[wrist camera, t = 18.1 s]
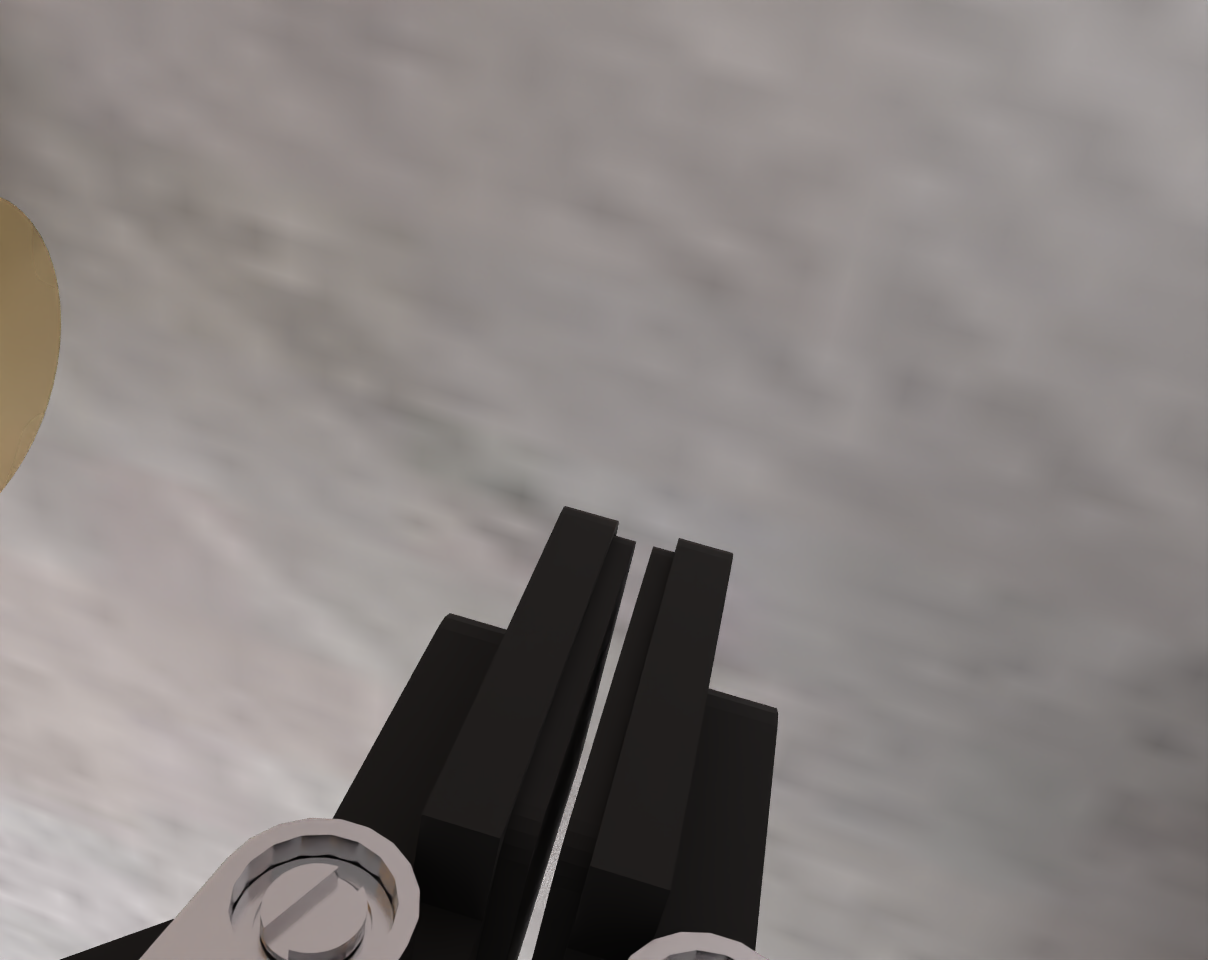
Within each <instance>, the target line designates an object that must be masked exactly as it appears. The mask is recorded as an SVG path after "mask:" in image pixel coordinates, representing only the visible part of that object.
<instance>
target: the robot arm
mask: <svg viewBox="0 0 1208 960" xmlns="http://www.w3.org/2000/svg"><path fill="white" fill-rule="evenodd" d="M618 524H619V521H616V520H613V519H609V518H606V517H602V516H599V515H595V514H591V513H588V512H584V511H581V510H577V509H574V508H570V507H566V506H565V507H564V508H563V510H562V511H561V513H560V516H559V518H558V520H557V522H556V524H555V526H554V529H553V531H552V533H551V535H550V537H549V539H548V542H547V544H546V546H545V548H544V550H543V552H542V555H541V557H540V559H539V561H538V563H537V565H536V568H535V570H534V572H533V574H532V576H531V578H530V581H529V583H528V585H527V587H526V589H525V591H524V594H523V596H522V598H521V600H520V602H519V604H518V607H517V609H516V611H515V613H514V615H513V617H512V620H511V622H510V624H509V626H508V628H507V630H506V629H502V628H499V627H495V626H492V625H489V624H485V623H482V622H478V621H475V620H471V619H468V618H465V617H461V616H458V615H454V614H451V613H450V614H448V615H447V616H446V617H445V618H444V619H443V621H442V622H441V624H440V625H439V627H438V629H437V630H436V632H435V634H434V636H433V638H432V639H431V641H430V643H429V645H428V647H427V649H426V650H425V652H424V654H423V656H422V658H421V659H420V661H419V663H418V665H417V667H416V668H415V670H414V672H413V674H412V676H411V678H410V679H409V681H408V683H407V685H406V687H405V688H404V690H403V692H402V694H401V696H400V697H399V699H398V701H397V703H396V705H395V707H394V708H393V710H392V712H391V714H390V716H389V717H388V719H387V721H386V723H385V725H384V727H383V728H382V730H381V732H380V734H379V736H378V737H377V739H376V741H375V743H374V745H373V746H372V748H371V750H370V752H369V754H368V756H367V757H366V759H365V761H364V763H363V765H362V766H361V768H360V770H359V772H358V774H357V775H356V777H355V779H354V781H353V783H352V785H351V786H350V788H349V790H348V792H347V794H346V795H345V797H344V799H343V801H342V803H341V804H340V806H339V808H338V810H337V812H336V814H335V815H334V817H333V819H322V818H307V819H303V820H298V821H293V822H288V823H283V824H278V825H276V826H274V827H272V828H270V829H268V830H266V831H264V832H262V833H260V834H258V835H256V836H254V837H252V838H250V839H249V840H247V841H246V842H245V843H244V844H243V845H242V846H240V847H239V848H238V849H237V850H236V851H235V852H234V853H232V854H231V855H230V856H229V857H228V858H227V859H226V860H225V861H224V862H223V863H222V864H221V866H220V867H219V868H218V869H217V870H216V871H215V872H214V874H213V875H212V876H211V877H210V878H209V879H208V881H207V882H206V883H205V884H204V885H203V886H202V887H201V889H200V890H199V891H198V892H197V893H196V894H195V896H194V897H193V898H192V899H191V900H190V901H189V902H188V904H187V905H186V906H185V907H184V908H183V909H182V911H181V912H180V913H179V914H178V915H177V916H176V918H175V919H172V920H169V921H166V922H164V923H161V924H158V925H155V926H153V927H150V928H147V929H144V930H141V931H139V932H136V933H133V934H130V935H127V936H125V937H122V938H119V939H116V940H113V941H111V942H108V943H105V944H102V945H100V946H97V947H94V948H91V949H88V950H86V951H83V952H80V953H77V954H74V955H72V956H69V957H66V958H63V959H60V960H517V959H518V956H519V953H520V950H521V947H522V943H523V940H524V937H525V934H526V931H527V928H528V924H529V921H530V918H531V915H532V912H533V908H534V905H535V902H536V899H537V896H538V892H539V889H540V886H541V883H542V880H543V877H544V873H545V870H546V867H547V864H548V861H549V857H550V854H551V851H552V848H553V845H554V842H555V838H556V835H557V832H558V829H559V826H560V822H561V819H562V816H563V813H564V810H565V807H566V803H567V800H568V797H569V794H570V791H571V787H572V784H573V781H574V778H575V775H576V771H577V768H578V765H579V761H580V758H581V754H582V751H583V747H584V743H585V739H586V736H587V732H588V728H589V724H590V720H591V716H592V712H593V708H594V704H595V701H596V697H597V693H598V689H599V685H600V681H601V677H602V673H603V669H604V666H605V662H606V658H607V654H608V650H609V646H610V642H611V638H612V634H613V631H614V627H615V623H616V619H617V615H618V611H619V607H620V603H621V599H622V596H623V592H624V588H625V584H626V580H627V576H628V572H629V568H630V564H631V561H632V557H633V553H634V549H635V544H636V541H632V540H629V539H625V538H622V537H618V536H616V534H617V529H618ZM732 559H733V553H730V552H727V551H723V550H719V549H716V548H712V547H709V546H705V545H702V544H698V543H695V542H691V541H687V540H684V539H680V538H679V540H678V543H677V546H676V550H675V552H671V551H668V550H664V549H661V548H657V547H653V549H652V552H651V555H650V559H649V562H648V565H647V569H646V572H645V575H644V578H643V582H642V585H641V588H640V592H639V595H638V598H637V601H636V605H635V608H634V611H633V614H632V618H631V621H630V624H629V628H628V631H627V634H626V637H625V641H624V644H623V647H622V650H621V654H620V657H619V660H618V664H617V667H616V670H615V673H614V677H613V680H612V683H611V687H610V690H609V693H608V696H607V700H606V703H605V706H604V709H603V713H602V716H601V719H600V723H599V726H598V729H597V732H596V736H595V739H594V742H593V745H592V749H591V752H590V755H589V759H588V762H587V765H586V768H585V772H584V775H583V778H582V782H581V785H580V788H579V791H578V795H577V798H576V801H575V804H574V808H573V811H572V814H571V818H570V821H569V824H568V828H567V831H566V834H565V838H564V841H563V845H562V848H561V852H560V855H559V859H558V862H557V866H556V870H555V873H554V877H553V881H552V884H551V888H550V892H549V896H548V900H547V904H546V908H545V911H544V915H543V919H542V923H541V927H540V931H539V935H538V938H537V942H536V946H535V950H534V954H533V958H532V960H768V959H767V958H765V957H763V956H762V955H760V954H759V953H757V952H755V946H756V936H757V926H758V916H759V906H760V896H761V886H762V876H763V866H764V856H765V846H766V836H767V826H768V816H769V806H770V796H771V786H772V776H773V766H774V756H775V746H776V736H777V726H778V712H777V708H774V707H770V706H767V705H763V704H760V703H757V702H753V701H750V700H746V699H743V698H739V697H736V696H732V695H729V694H726V693H722V692H719V691H715V690H712V689H708V688H709V683H710V677H711V672H712V667H713V661H714V656H715V651H716V645H717V640H718V635H719V629H720V624H721V618H722V613H723V608H724V602H725V597H726V592H727V586H728V581H729V576H730V570H731V565H732Z"/></svg>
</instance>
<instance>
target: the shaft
mask: <svg viewBox="0 0 1208 960" xmlns="http://www.w3.org/2000/svg"><path fill="white" fill-rule="evenodd" d="M60 335H61V310H60V298H59V290H58V284H57V280H56V275H55V270H54V267H53V264H52V261H51V258H50V255H49V252H48V250H47V248H46V246H45V244H44V241H43V239H42V237H41V236H40V234H39V233H38V231H37V229H36V228H35V226H34V225H33V223H32V222H31V221H30V220H29V219H28V218H27V217H26V215H25V214H24V213H23V212H22V211H21V210H19V209H18V208H17V207H16V206H14V205H13V204H12V203H10V202H9V201H7V200H5V199H3V198H1V197H0V493H1V492H2V490H3V489H4V488H5V486H6V485H7V484H8V482H9V481H10V480H11V478H12V477H13V476H14V474H15V472H16V471H17V469H18V468H19V466H20V464H21V463H22V461H23V460H24V458H25V456H26V454H27V452H28V450H29V448H30V447H31V445H32V443H33V441H34V438H35V436H36V434H37V432H38V429H39V427H40V425H41V422H42V420H43V417H44V414H45V411H46V408H47V405H48V402H49V399H50V395H51V391H52V388H53V384H54V379H55V374H56V369H57V364H58V357H59V349H60Z"/></svg>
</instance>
